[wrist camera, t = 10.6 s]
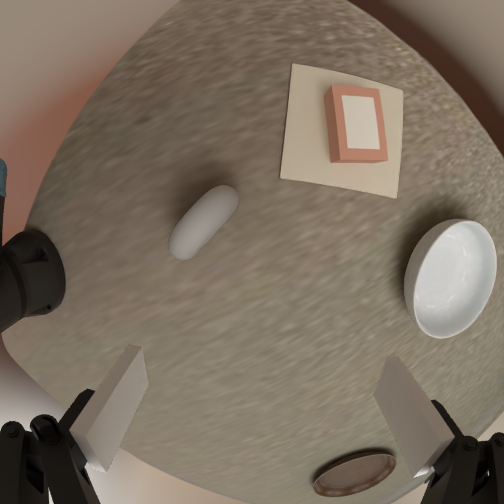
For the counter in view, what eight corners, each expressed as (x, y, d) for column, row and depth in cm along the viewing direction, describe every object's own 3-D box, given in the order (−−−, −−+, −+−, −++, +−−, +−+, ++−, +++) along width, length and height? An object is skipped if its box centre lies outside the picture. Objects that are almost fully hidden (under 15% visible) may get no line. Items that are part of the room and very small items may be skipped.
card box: (323, 96, 31) (331, 84, 26) (366, 98, 30) (379, 88, 26) (330, 163, 33) (340, 159, 28) (373, 163, 32) (388, 160, 28)
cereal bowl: (436, 332, 38) (457, 352, 31) (370, 294, 37) (389, 314, 30) (484, 247, 35) (510, 257, 28) (425, 192, 33) (454, 194, 27)
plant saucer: (391, 433, 44) (395, 443, 41) (394, 469, 48) (397, 477, 45) (301, 464, 47) (302, 475, 44) (321, 494, 51) (323, 503, 47)
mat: (279, 178, 34) (280, 178, 33) (292, 65, 30) (292, 63, 30) (394, 198, 34) (396, 198, 33) (401, 91, 30) (402, 90, 30)
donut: (227, 179, 34) (213, 176, 25) (247, 197, 35) (242, 201, 25) (177, 237, 36) (149, 254, 26) (196, 254, 37) (174, 278, 27)
